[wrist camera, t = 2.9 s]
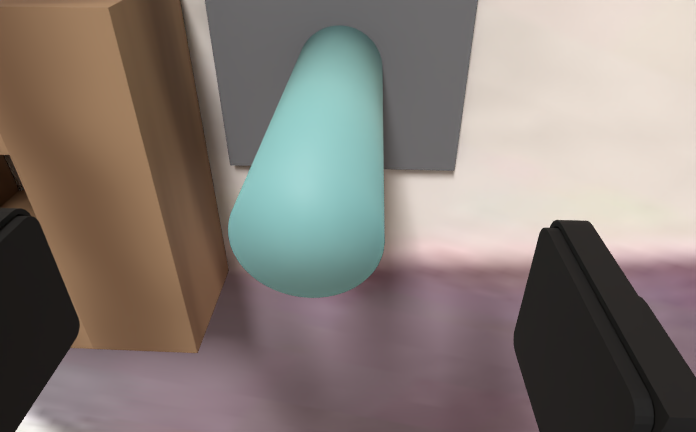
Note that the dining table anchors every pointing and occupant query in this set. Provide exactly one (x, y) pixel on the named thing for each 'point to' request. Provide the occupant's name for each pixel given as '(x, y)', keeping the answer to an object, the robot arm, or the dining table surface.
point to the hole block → (113, 165)
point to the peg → (318, 174)
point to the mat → (397, 65)
